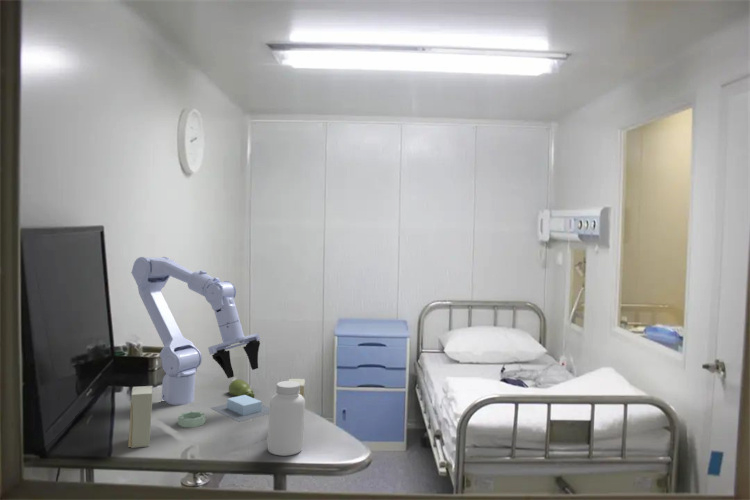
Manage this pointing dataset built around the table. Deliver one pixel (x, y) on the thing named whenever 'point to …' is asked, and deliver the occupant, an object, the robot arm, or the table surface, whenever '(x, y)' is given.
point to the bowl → (192, 419)
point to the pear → (240, 388)
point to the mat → (239, 417)
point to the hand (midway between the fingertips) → (243, 373)
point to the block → (244, 405)
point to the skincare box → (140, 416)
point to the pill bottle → (286, 419)
